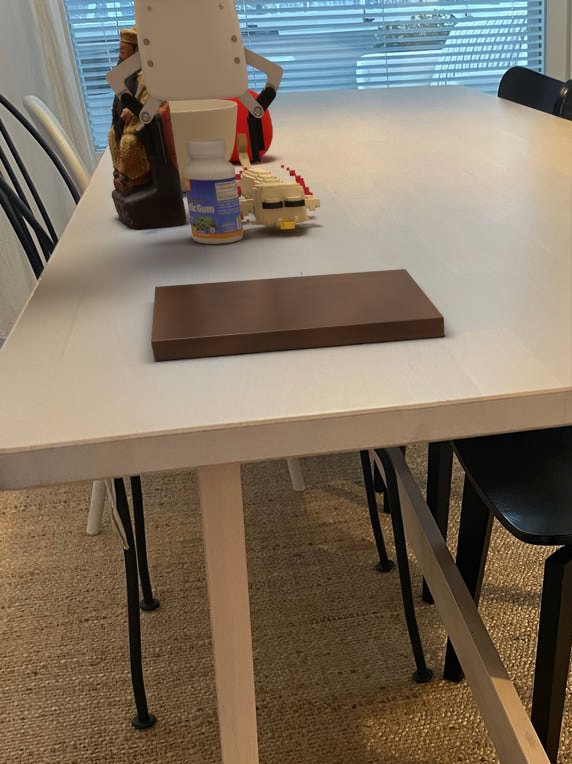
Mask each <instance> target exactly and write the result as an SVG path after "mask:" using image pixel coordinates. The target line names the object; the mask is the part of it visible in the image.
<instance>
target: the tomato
mask: <svg viewBox="0 0 572 764" xmlns="http://www.w3.org/2000/svg"><path fill="white" fill-rule="evenodd" d="M252 89H253V90H252ZM254 89H255V88H252V87H251V89H250V88H248V92H249V93H250V94H251V95H252V96H253V97H254V98H255V99H256V98H257V97H258V95H259V94H260V93H257V92H256V91H255V90H254ZM217 100H228V101H233V102H236V103H237V120H236V134H235V143H234V149H233V152H232V155H231V158H230V160H229V162H230V163H241V162H240V158H239V155H238V149H237V134H246V138H247V154H248V158H249V161H250V162H251V161H254V160H253V158H252V155H251V147H250V140H249V132H248V125H247V117H248V109H247V108H246V107H245V106H244V105H243V104H242V103H241V102H240V101H239V99H238V98H237V97H236V98H227V99H217ZM270 113H271V112H270V110H269V107H268V108H267V110H266V111H265V112H264V114H263V116H262V117H261V119H262V127H263V135H264V143H265V151H259V154H260V158H262V157H264V156H265V155H266V154H267V153H268V151H269V149H270V147H271V145H272V141H273V137H274V127H273V121H272V117H271V114H270Z"/></svg>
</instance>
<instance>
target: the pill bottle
mask: <svg viewBox="0 0 572 764" xmlns="http://www.w3.org/2000/svg"><path fill="white" fill-rule="evenodd" d="M186 148H187V153H188V154H187V155H188V156H190V162H189V163H187V164H185V166H184V167H183V176H184V183H185V189H186V192H185V195H186V203H187V209H188V217H189V222H190V228H191V235H192V239H193V240H194V241H195V242H196V243H198V244H205V245H221V244H229V243H235V242H238V241H241V240H242V239H243V237H244V230H243V223H242V221H243V220H241V214H240V206H239V200H240V197H238V189H237V180H236V174H237V173H236V168H235V166H234V165H233V164H232V162H228V161H226V160H225V155H226V152H227V150H226V145H225V140H224V139H220V138H196V139H190V140H186Z"/></svg>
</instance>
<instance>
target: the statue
mask: <svg viewBox="0 0 572 764" xmlns="http://www.w3.org/2000/svg"><path fill="white" fill-rule="evenodd" d="M119 37H120V40H119V51H118V52H119V53H118V61H117V63H116V66H118V65H119V64H121V63H122V62H123V61H125V60H126V59H128V58H129V57H131V56H132V55H134V54H135V53H137V52H138V51H139V47H138V39H137V31H136V24H135V23H134V24H133V26H131V27H130V29H129V28H123V27H122V28H121V29H120V30H119ZM116 66H115V67H116ZM124 83H125V85H126V87H127V88H128V90H129V91H130V93H131V94H132V95H133V96H134V97H136V98H137V99H138V100H139V101H140V102H141V103H143V104H144V103H145V101H146V99H147V98H148V96H149V93H148V91H147V89H146V85H145V82H144V77H143V72H142V68H140V69H139V70H137V71H136V72H134V73H133V74H132V75H130V76H129V77H127V78H126V79H125V80H124ZM111 107H112V111H111V116H112V117H111V124H110V129H109V131H108V133H107V144H108V147H109V148H108V149H109V152H110V156H111V161H112V169H113V171H112V176H113V180H112V182H113V187H114V189H113V190H112V191H111V199H112V201H113V205H114V207H115V208H114V209H115V211H116V213H117V215H118V217H119V218H120V220H121V221H122V222H124V224H125V225H127V226H129V227H130V228H132V229H135V230H146V229H158V228H167V227H176V226H182V225H185V223H186V222H187V212H186V207H185V202H184V197H183V192H182V190H181V182H180V174H179V168H178V163H177V156H176V150H175V143H174V136H173V129H172V123H171V114H170V108H169V103H168V101H162V103H161V105H160V106H159V108H158V110H157V112H156V113H155V116H156V120H157V121H159V125H160V131H161V137H162V142H163V148H164V153H165V159H166V165H164V167H159V165H158V160H157V157H150V153H149V148H148V143H147V138H146V132H145V127H144V123H143V122H142V121H141V120H140V119H139V118H138V117H137V116H135V115H134V114H133V113H132V112H131V111H130V110H128V109H127V108H126V107H125V106H124V105H123V104H122V103H121V101H120V99H119V98H118V97H117V95H116V94H115V93H114V96H113V101H112V106H111Z"/></svg>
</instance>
